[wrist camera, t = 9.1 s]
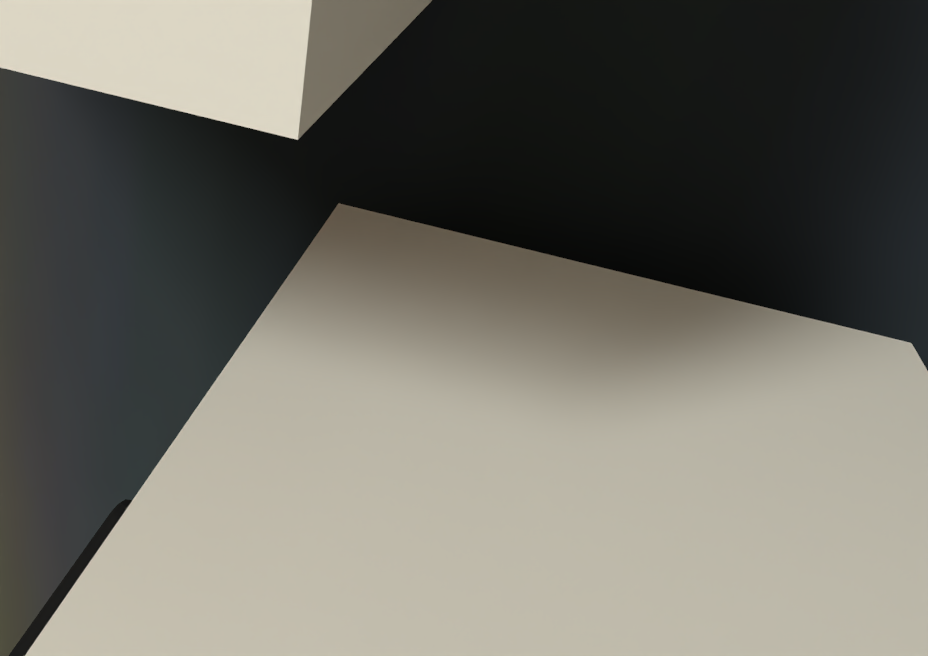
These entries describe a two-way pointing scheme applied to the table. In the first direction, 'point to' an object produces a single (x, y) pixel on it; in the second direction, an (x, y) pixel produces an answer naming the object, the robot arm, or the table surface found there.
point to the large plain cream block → (207, 52)
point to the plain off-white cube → (522, 473)
